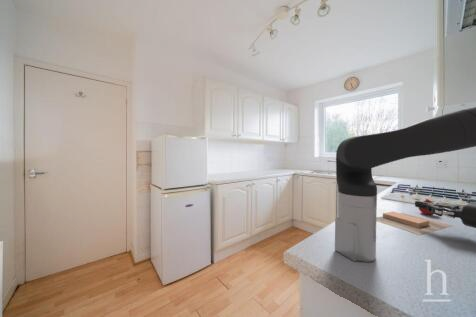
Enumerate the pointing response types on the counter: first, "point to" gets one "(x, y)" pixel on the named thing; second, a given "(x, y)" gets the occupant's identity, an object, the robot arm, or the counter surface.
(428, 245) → the counter surface
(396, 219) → the tile
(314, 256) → the counter surface
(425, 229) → the board
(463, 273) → the counter surface
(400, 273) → the counter surface
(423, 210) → the onion
